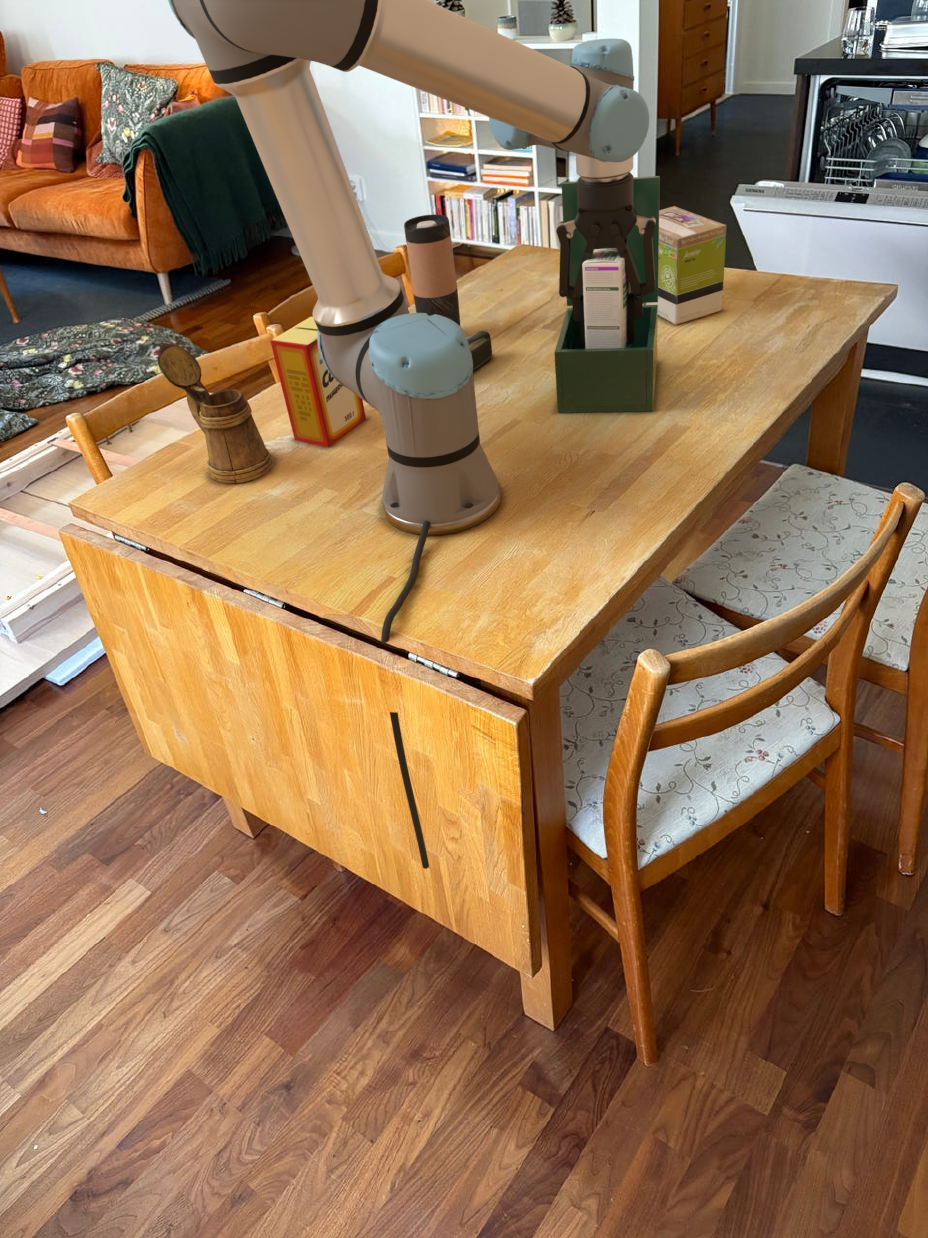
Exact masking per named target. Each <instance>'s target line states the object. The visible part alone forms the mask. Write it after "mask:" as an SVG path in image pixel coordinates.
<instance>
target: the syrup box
mask: <svg viewBox="0 0 928 1238" xmlns="http://www.w3.org/2000/svg"><path fill="white" fill-rule="evenodd" d="M582 268H583V296H584V322H585V348H586V349H602V348H629V347H630V345H631V344H629V309H628V300H629V293H630V284H629V281H628V278H627V275H626V272H625V261H624V258H621V257H620V255H619V253H618V251H617V248H606V249H595V250H594V251H593V255H592V258H591V259H589V260H586V261H584V262H583V264H582Z"/></svg>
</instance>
